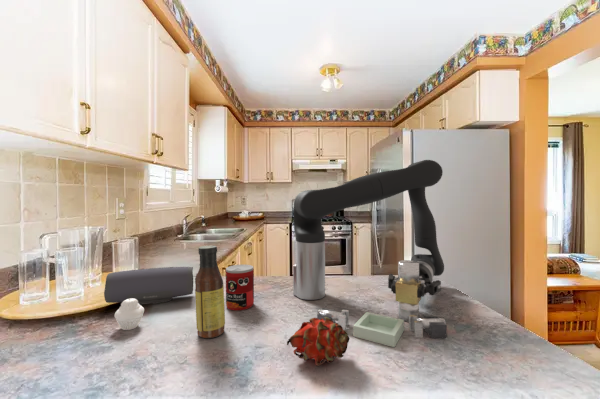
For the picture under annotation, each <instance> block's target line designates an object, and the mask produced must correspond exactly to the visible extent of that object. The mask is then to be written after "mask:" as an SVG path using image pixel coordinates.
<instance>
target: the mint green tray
mask: <svg viewBox="0 0 600 399" xmlns="http://www.w3.org/2000/svg"><path fill="white" fill-rule="evenodd" d="M352 326H353V327H352V332H353V334H352V336H354V338H357V339H362V340H366V341H370V342H373V343H376V344H380V345H385V346H387V347H388V346H389V347H392V348H395V347H396V346H397V344H398V342H399V340H400V338H401V336H402V335H403V333H404V331H405V321H404V320H402V319H399V318H398V317H397V318H396V317H394V316H393V317H392V316H389V315H388V316H387V315H384V314H383V315H382V314H378V313H373V312H370V311H369V312H367V311H366V312H365V313H364V314H363V315H362V316H361V317H360V318H359V319H358V320H357V321H356V322H355V323H354V324H353V325H352Z"/></svg>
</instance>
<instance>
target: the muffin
mask: <svg viewBox="0 0 600 399" xmlns="http://www.w3.org/2000/svg"><path fill="white" fill-rule="evenodd" d="M144 312H145V308H144V307H143V306H142V304H139V303H138V300H137V299H134V298H131V299H130V298H129V299H126V300H124V301H123V302H120V306H119V308H118V309H117V310H116V311H115V313H114V319H115V320H116V322H117V324H118V325H119V326H120V327H119V328H121V330H123V331H130V330H133V329H136V328H137V327H139V326H138V325H139V324H140V322H141V320H142V318H143V316H144Z"/></svg>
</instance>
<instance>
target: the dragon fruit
mask: <svg viewBox="0 0 600 399" xmlns="http://www.w3.org/2000/svg"><path fill="white" fill-rule="evenodd" d="M324 319H325V320H324ZM324 319H323V318H322V319H320V320H319V319H318V318H317V317H312V318H310V319H309V321H304V322H302V323H301V326H300V327H299V329H297V330H296V331H295V332H294V334H293V335H292V336H290V337H289V339H288V340H287V341H286V345H287V346H289V344H290V345H291V347H292V348H294V349H293V351H292V353H293V354H294V355H295V356H296V357H298V358H299V359H304V361H306V360H314V361H315V362H314V363H315V366H317V367H319V366H321V365H323V364H325V363H326V362H327V363H332V362H333V361H334V360H335V357H336V358H339V359H341V358H344V356H345V353H346V351H347V349H348V344H349V343H350V340H351V338H350V337H349V335H348V332H347V330H346V331H345V330H343V328H342V326H341V325H339V324H338V322H335V323H333V321H332V320H331V319H329V318H328V317H324Z"/></svg>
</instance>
